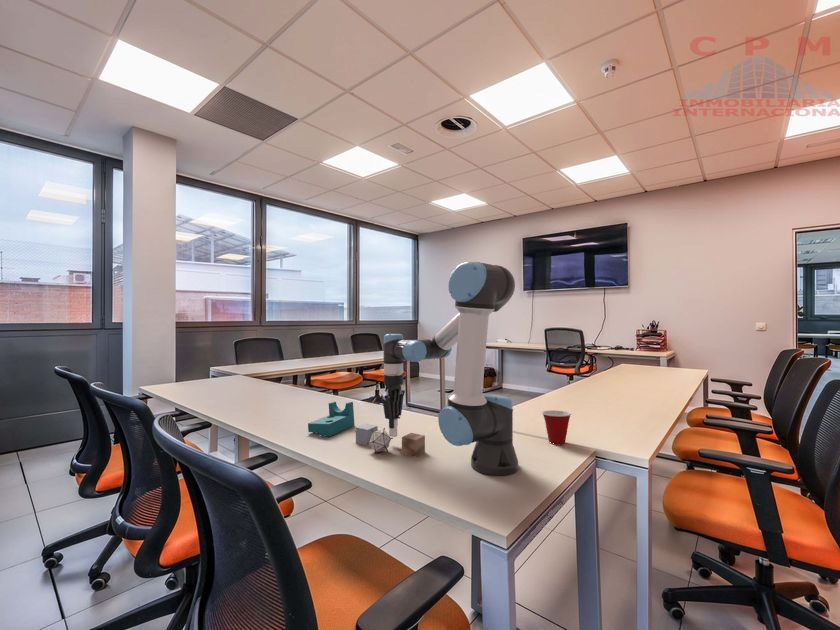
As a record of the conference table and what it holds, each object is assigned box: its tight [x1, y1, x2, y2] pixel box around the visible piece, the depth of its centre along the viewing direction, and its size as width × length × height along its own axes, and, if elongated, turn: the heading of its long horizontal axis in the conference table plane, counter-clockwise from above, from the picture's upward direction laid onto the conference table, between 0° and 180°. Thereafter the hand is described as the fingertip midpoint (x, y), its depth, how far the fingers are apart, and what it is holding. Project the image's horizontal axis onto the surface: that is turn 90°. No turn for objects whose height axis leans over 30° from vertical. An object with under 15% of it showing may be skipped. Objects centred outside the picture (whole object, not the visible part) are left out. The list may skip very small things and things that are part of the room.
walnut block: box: [401, 432, 426, 458], centre depth 130 cm, size 6×6×6 cm
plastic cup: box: [541, 409, 572, 445], centre depth 141 cm, size 11×11×12 cm
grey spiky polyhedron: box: [367, 427, 394, 455], centre depth 131 cm, size 9×8×10 cm
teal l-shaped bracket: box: [307, 401, 355, 437], centre depth 158 cm, size 18×11×10 cm, turn 157°
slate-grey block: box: [355, 423, 379, 446], centre depth 142 cm, size 6×6×6 cm
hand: (393, 436), depth 138 cm, fingers closed
